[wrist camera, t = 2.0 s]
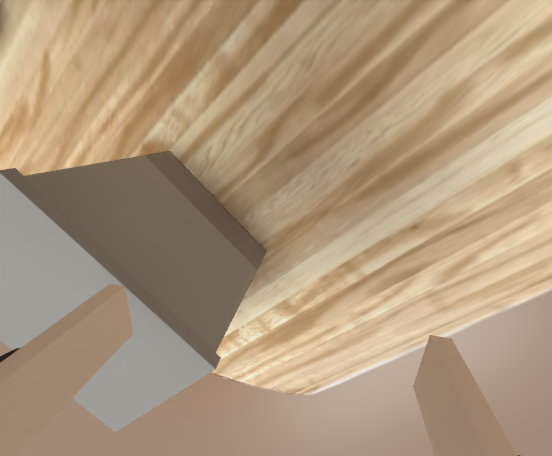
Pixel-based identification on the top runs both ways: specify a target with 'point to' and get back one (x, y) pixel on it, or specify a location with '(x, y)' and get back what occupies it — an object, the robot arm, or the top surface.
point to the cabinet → (125, 271)
